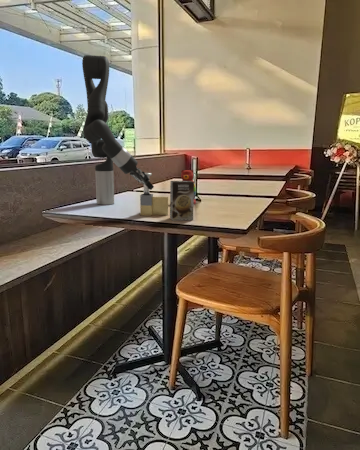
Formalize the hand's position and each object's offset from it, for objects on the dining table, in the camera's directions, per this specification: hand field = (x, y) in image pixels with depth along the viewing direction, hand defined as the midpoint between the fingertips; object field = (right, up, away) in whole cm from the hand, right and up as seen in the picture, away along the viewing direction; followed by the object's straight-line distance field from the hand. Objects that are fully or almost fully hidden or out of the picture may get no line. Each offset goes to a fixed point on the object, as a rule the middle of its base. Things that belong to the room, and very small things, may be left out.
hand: (150, 187), depth 163 cm
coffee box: (+14, -14, -8) cm, 21 cm away
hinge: (+2, -11, +5) cm, 12 cm away
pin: (-2, -5, 0) cm, 5 cm away
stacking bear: (+17, -5, +37) cm, 41 cm away
